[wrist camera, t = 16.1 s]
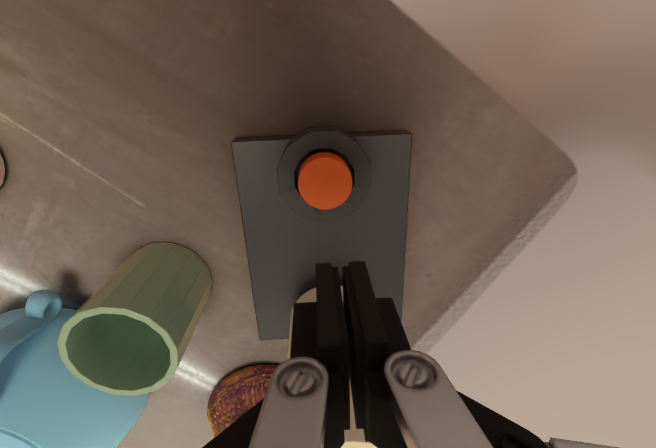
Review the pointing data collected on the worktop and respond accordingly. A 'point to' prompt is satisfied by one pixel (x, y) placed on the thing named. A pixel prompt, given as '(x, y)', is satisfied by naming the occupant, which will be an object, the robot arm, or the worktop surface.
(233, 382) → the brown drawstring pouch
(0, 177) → the pill bottle
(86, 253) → the worktop surface
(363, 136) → the orange button base plate
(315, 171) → the orange push button
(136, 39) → the worktop surface
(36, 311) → the teapot
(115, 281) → the green cup
